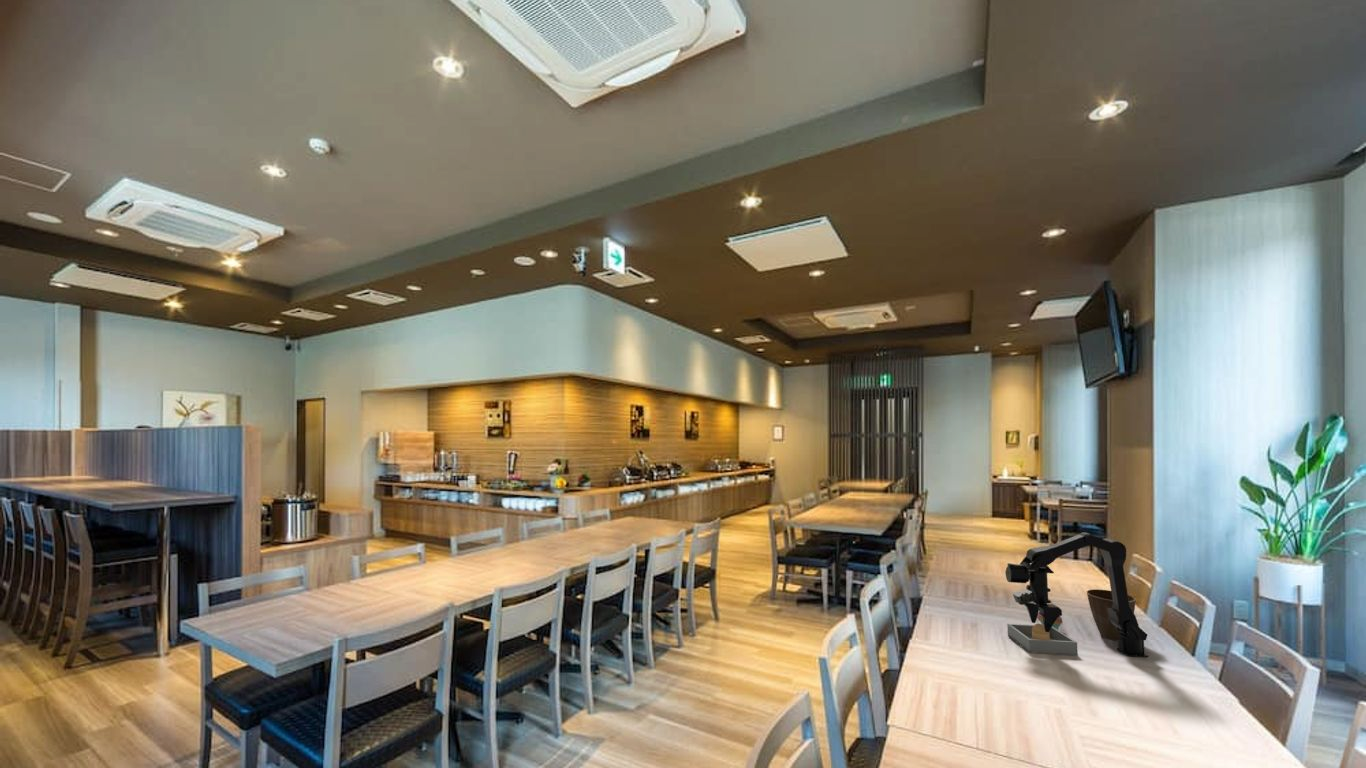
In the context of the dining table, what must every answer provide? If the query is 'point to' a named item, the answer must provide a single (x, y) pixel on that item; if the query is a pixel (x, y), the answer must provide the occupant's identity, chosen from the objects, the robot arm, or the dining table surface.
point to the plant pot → (1105, 612)
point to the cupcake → (1056, 623)
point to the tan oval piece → (1039, 632)
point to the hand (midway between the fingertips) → (1040, 627)
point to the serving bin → (1042, 641)
